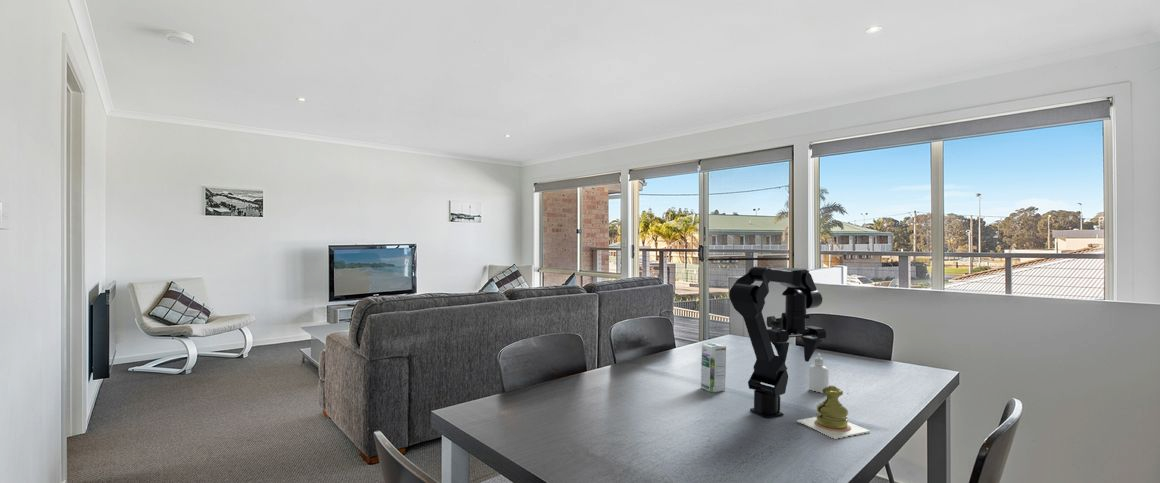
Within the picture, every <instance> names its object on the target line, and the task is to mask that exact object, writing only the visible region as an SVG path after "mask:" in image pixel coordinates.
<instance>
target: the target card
mask: <svg viewBox="0 0 1160 483" xmlns="http://www.w3.org/2000/svg"><path fill="white" fill-rule="evenodd" d="M816 418H817V416H813V417H808V418H801V419H797V420H796V422H797V423H798V422H799V423H798V424H800V423H801V424H800V425H802V424H804V425H806V426H809V427H811V428H813V429H815V430H817V431H819V432H821V433H820V434H822V433H823V434H822V435H824V434H825V436H826V435H827V436H826V437H828V436H829V437H828V438H830V437H831V439H832V438H834V439H833V440H839V439H838V438H840V439H844V438H843V437H845V438H849V437H848V436H851V437H854V435H856V436H859V435H860V434H861V435H865V434H864V433H866V434H870V433H871V430H869V429H866V428H864V427H861V426H860V425H856V424H854V423H852V422H850V421H848V427H847V428H845V429H830V428H826V427H823V426H821V425H819V424H818V423H817V421H816ZM804 425H803V426H804ZM806 426H805V427H806ZM809 427H808V428H809ZM811 428H810V429H811ZM813 429H812V430H813ZM815 430H814V431H815ZM817 431H816V432H817ZM819 432H818V433H819ZM869 432H870V433H869Z"/></svg>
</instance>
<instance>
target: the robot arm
mask: <svg viewBox="0 0 1160 483" xmlns="http://www.w3.org/2000/svg"><path fill="white" fill-rule="evenodd" d="M755 282H762V283H761V284H760V285H757V284H756V285H755V284H754V283H755ZM770 282H771V283H772V282H773V283H779V285H781V286H784V287H786V289H785V290H784V291H783V292H782V294H781V295H782V296H783V297H784V296H785V302H784V303H785V306H784V308H785V310H784V311H785V312H782V313H781V317H779V318H778V317H775V316H774V315H771V316H766V322H765V319H764V316H763V312H762V311H763V309H764V306H765V304H766V300H765V299H766V297H767V295H768V294H769V293H770V287H769V283H770ZM728 295H729V299H730V300H729V301H730V302H731V305H732V306H733V308H734V309H735V311H736V312H737V313H738V314H740V315H741V316H742V318H743V322H744V323H745V324H744V325H745V327H746V331H747V334H748V337H749V340H750V343H751V345H752V346H751V347H752V349H753V353H754V355H755V356H754V357H755V362H754V364H753V372H752V374H751V375H750V376H749V377H750V378H749V379H748V382H747V384H748V389H750V390H753V393H754V394H753V407H750V408H749V411H751V412H753V413H755V414H756V415H758V416H761V417H763V418H765V419H769V418H773V417H780V416H784V412H781V396H782V395H785V394H786V391H787V386H788V380H789V374H788V367H787V365H786V361H787V357H788V352H789V346H790V342H788V341H789V340H790V338H799V337H800V338H801V340H802V342H803V354H804V355H803V358H804V361H805V362H809V361H810V359H811V358H812V356H813V354H814V353H815V351H816V350H817V349H818V347H819V346H820V344H821V342H823V340H824V339H826V338H827V331H826V330H825V329H824V328H822V327H819V326H814V325H808V326H807V319H810V314H807V309H815V308H818V307H819V306H821V305H822V303H823V297H822V294H821V293H820V291H819V290H818V289H817V286H816V285H815V282H814V279H813V277H812V274H811V273H810V271H809V269H807V268H796V267H784V268H781V269H778V268H770V267H767V266H757V265H756V266H753V267H751V268H750V269H749V271H748V272H747V273H745V274H744V275H742V276H740V277H739V278H737V279H736V281H735V282H734V284H733V285H732V286H731V288H730V290H729V292H728ZM767 327H768V328H767ZM769 328H770V329H769ZM773 346H774V348H775V350H776V354H775V352H774V351H775V350H774V348H773ZM773 386H774V387H773Z"/></svg>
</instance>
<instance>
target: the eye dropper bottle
mask: <svg viewBox="0 0 1160 483" xmlns="http://www.w3.org/2000/svg"><path fill="white" fill-rule="evenodd" d="M829 375H830V374H829V369H828V368H827V367H826V366H824V358H822V356H821V353H817V356H816V357H814V364H811V365H810V366H809V367H808V389H809V390H810V391H811V390H812V391H811V392H814V391H816V392H815V393H818V392H820V393H819V394H824V393H823V392H822V388H824V387H828V386H829V377H830V376H829Z"/></svg>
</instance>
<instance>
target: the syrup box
mask: <svg viewBox="0 0 1160 483" xmlns="http://www.w3.org/2000/svg"><path fill="white" fill-rule="evenodd" d="M700 359H701V362H700V364H701V366H700V367H701V368H700V369H701V370H700V374H701V375H700V388H701V389H703V390H705V391H707V392H710V393H719V392H723V391H726V375H727V371H726V368H727V345H722V344H719V343H716V342H705V343H702V344H701V358H700Z"/></svg>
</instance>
